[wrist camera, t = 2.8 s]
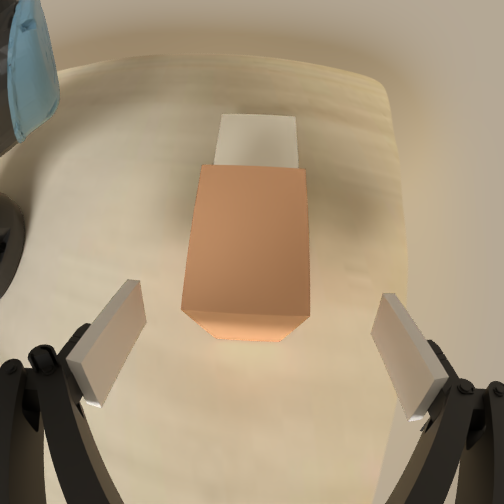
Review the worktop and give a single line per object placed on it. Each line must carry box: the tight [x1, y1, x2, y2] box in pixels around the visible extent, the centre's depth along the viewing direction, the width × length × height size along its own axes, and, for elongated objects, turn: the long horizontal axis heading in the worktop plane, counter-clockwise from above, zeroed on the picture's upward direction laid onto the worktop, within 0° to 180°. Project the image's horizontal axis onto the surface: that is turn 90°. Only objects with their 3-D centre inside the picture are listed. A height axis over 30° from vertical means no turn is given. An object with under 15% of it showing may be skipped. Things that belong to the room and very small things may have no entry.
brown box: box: [181, 165, 310, 342], centre depth 18 cm, size 5×7×12 cm
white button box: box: [213, 114, 299, 168], centre depth 25 cm, size 7×12×5 cm, turn 177°
